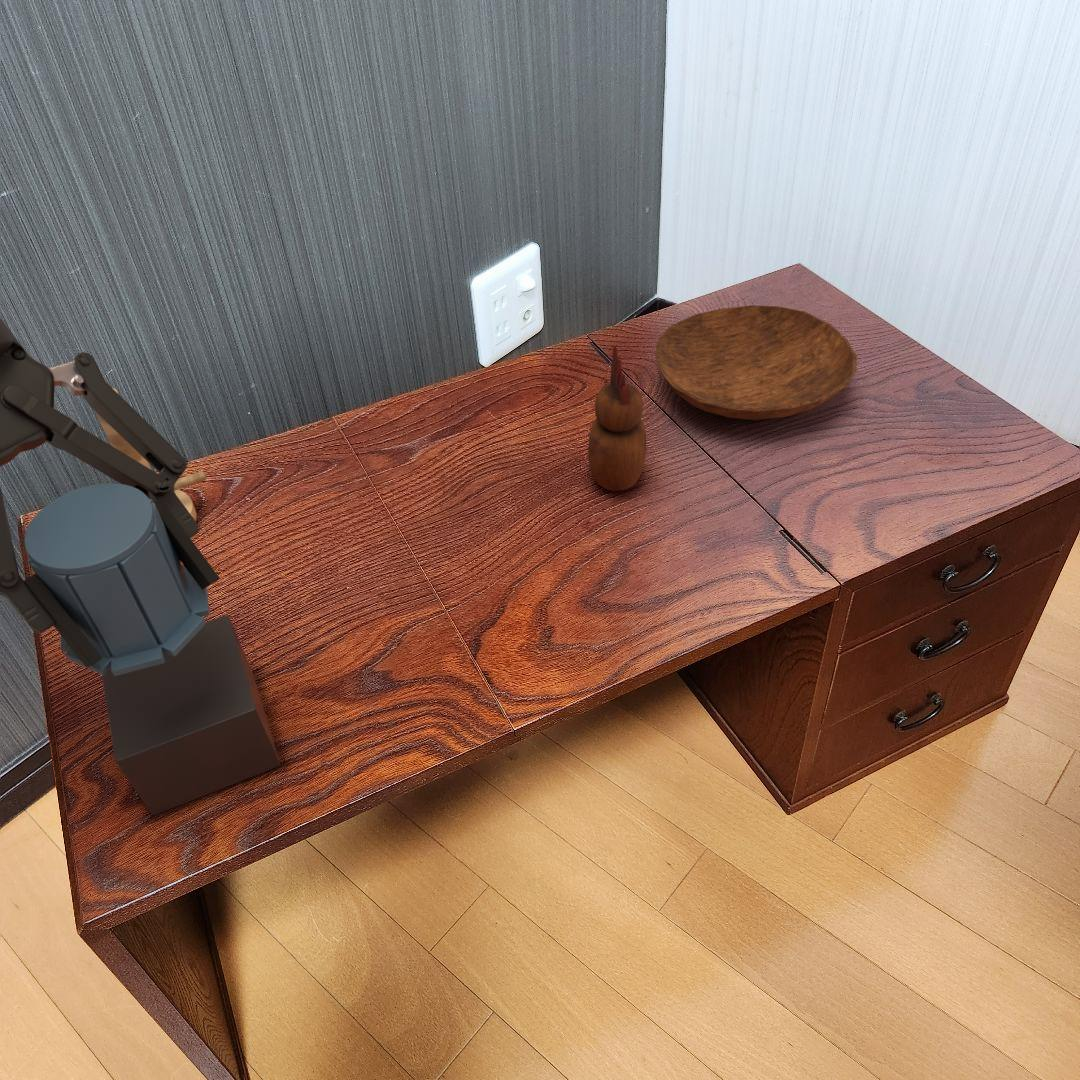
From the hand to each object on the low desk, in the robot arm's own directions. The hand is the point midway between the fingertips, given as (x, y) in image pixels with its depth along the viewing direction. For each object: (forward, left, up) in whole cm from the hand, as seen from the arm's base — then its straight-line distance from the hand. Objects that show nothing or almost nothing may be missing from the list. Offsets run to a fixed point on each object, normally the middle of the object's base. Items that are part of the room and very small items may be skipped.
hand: (154, 621), depth 61 cm
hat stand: (-24, +19, -18) cm, 36 cm away
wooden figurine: (+15, +44, -18) cm, 50 cm away
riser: (-3, +1, -18) cm, 18 cm away
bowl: (+23, +64, -18) cm, 70 cm away
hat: (-3, +1, -2) cm, 4 cm away
